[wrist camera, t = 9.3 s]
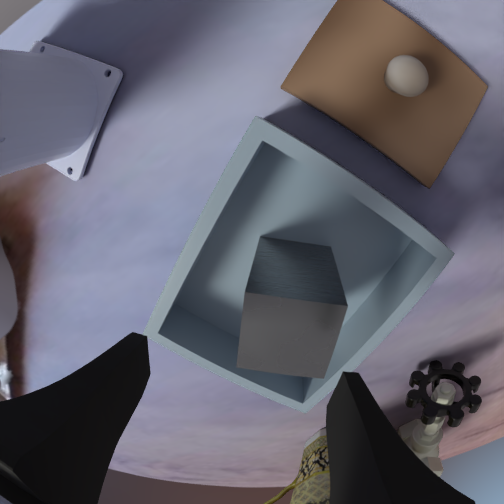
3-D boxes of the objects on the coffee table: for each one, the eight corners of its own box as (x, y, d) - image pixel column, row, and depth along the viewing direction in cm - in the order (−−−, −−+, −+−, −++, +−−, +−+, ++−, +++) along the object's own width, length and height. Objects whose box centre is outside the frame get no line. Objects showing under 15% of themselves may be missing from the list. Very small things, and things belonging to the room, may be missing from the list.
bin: (164, 301, 22) (142, 334, 18) (263, 118, 16) (255, 115, 13) (305, 374, 23) (305, 413, 19) (427, 228, 18) (454, 253, 14)
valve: (435, 432, 25) (466, 353, 21) (448, 480, 19) (496, 407, 15) (379, 444, 26) (398, 366, 22) (386, 495, 20) (417, 429, 16)
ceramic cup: (384, 401, 24) (404, 498, 14) (388, 452, 27) (400, 527, 18) (247, 427, 27) (230, 518, 17) (277, 471, 30) (269, 544, 21)
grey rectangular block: (252, 297, 20) (236, 367, 14) (260, 236, 18) (244, 291, 12) (317, 306, 20) (323, 378, 14) (330, 246, 18) (348, 306, 12)
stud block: (281, 88, 16) (278, 79, 12) (347, -12, 12) (359, -39, 9) (423, 185, 17) (450, 200, 13) (479, 87, 13) (513, 84, 10)
